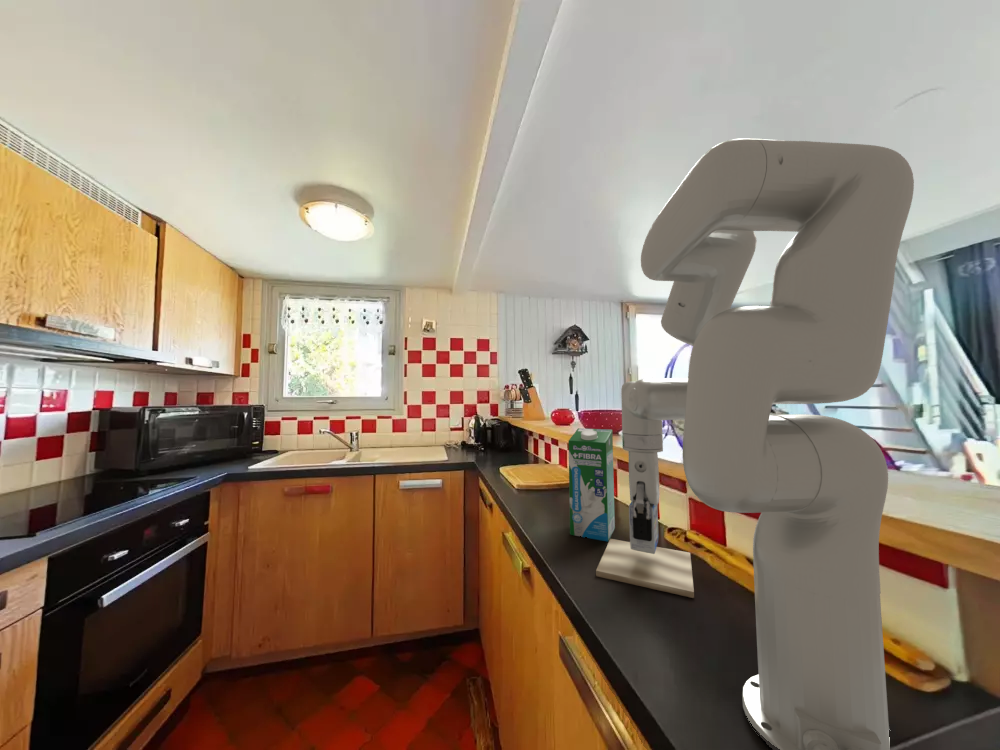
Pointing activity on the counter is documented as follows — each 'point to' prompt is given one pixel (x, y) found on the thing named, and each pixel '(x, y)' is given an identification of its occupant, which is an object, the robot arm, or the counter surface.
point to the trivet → (648, 568)
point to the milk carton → (591, 484)
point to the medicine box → (651, 545)
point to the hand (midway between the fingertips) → (644, 530)
